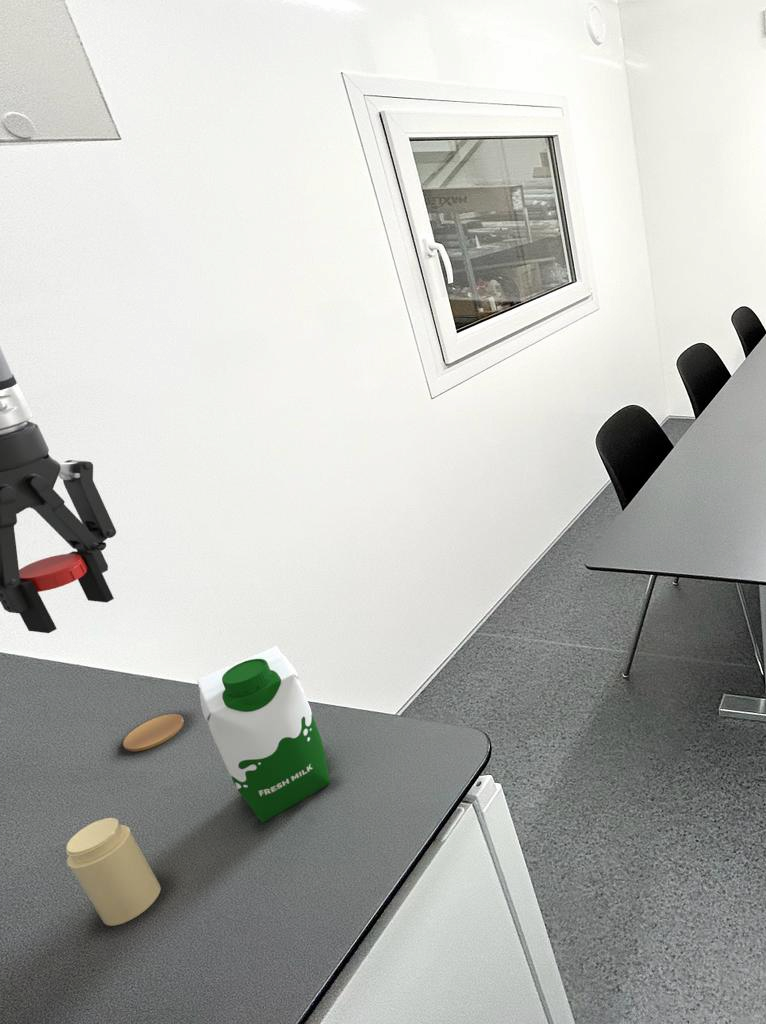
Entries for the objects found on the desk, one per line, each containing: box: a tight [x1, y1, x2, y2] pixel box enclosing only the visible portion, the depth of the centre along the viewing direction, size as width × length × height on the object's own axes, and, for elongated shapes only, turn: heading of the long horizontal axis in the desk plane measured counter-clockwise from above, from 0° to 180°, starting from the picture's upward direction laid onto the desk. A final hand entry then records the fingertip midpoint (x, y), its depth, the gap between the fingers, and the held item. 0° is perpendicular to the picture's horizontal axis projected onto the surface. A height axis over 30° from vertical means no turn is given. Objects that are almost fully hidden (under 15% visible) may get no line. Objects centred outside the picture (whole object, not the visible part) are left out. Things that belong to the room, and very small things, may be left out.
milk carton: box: [196, 645, 331, 824], centre depth 76 cm, size 9×9×20 cm
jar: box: [65, 817, 162, 927], centre depth 65 cm, size 4×4×11 cm
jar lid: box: [19, 553, 87, 593], centre depth 71 cm, size 5×5×2 cm
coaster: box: [122, 713, 185, 753], centre depth 87 cm, size 6×6×1 cm
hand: (72, 613), depth 73 cm, fingers closed on jar lid, 5 cm apart
